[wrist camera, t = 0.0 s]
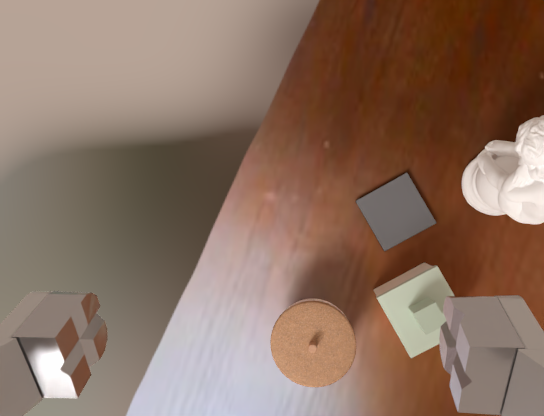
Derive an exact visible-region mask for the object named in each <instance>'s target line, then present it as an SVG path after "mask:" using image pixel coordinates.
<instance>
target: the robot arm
mask: <svg viewBox="0 0 544 416" xmlns="http://www.w3.org/2000/svg"><path fill="white" fill-rule="evenodd" d="M99 308H100V304H99V302H98V298H97V296H96V295H95V294H93V293H88V292H58V291H54V292H50V291H49V292H47V291H34V292H31V293H28V294H27V295H26V297H25V298H24V299H23V300H22V301H21V302H20V303H19V304H18V305H17V307H15V309H14V310H13V311H12V312H11V313H10V314H9V315H8V316H7V317H6V318H5V319H4V321H3V322H2V323H1V324H0V416H23V415H24V414H26V413H27V412H28V411H30V410H31V409H32V408H33V407H34V406H36V405H37V404H38V403H39V402H40V401H41V400H42V398H78V397H79V395H80V393H81V392H82V390H83V388H84V386H85V385H86V383H87V381H88V379H89V378H90V376H91V372H90V369H89V367H90V366H91V365H93V364H94V363H96V362H97V361H99V360H100V358H101V356H102V354H103V353H104V351H105V347H106V342H107V327H106V324H105V321H104V320H103V319H102V318H101V317H100V316H99V315H98V314H97V311H98V309H99ZM443 313H444V316H445V318H446V322H445V323H444V324H443V325H442V326H441V328H440V337H439V342H440V354H441V359H442V363H443V366H444V369H445V370H446V371H447V372H448V373H449V374H451V379H450V389H451V392H452V396H453V399H454V402H455V405H456V408H457V411H458V412H460V413H476V414H491V415H501V416H544V331H543V330H542V328H541V327H540V325H539V323H538V322H537V320H536V319H535V317H534V315H533V314H532V312H531V311H530V309H529V307H528V306H527V304H526V303H525V301H524V299H523V298H522V297H520V296H519V295H515V296H494V297H492V296H446V299H445V301H444V306H443Z"/></svg>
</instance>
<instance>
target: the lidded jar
mask: <svg viewBox="0 0 544 416" xmlns="http://www.w3.org/2000/svg"><path fill="white" fill-rule="evenodd" d="M271 352H272V356H273V358H274V361H275V363H276V365H277V367H278V368H279V369H280V371H281V372H282V373H283V374H284V375H285V376H286V377H287V378H289V379H290V380H291V381H293V382H295V383H297V384H300V385H303V386H307V387H322V386H326V385H330V384H332V383H334V382H336V381H337V380H339V379H340V378H342V377H343V376H344V375H345V374H346V373H347V371H348V370H349V368H350V367H351V365H352V363H353V360H354V357H355V353H356V339H355V334H354V331H353V328H352V326H351V324H350V322H349V320H348V319H347V317H346V316H345V315H344V313H343V312H342V311H341V310H340V309H339V308H338V307H336V306H335V305H333V304H332V303H330V302H328V301H325V300H322V299H316V298H310V299H304V300H301V301H298V302H296V303H294V304H292V305H291V306H289V307H288V308H287V309H286V310H285V311H284V312H283V313H282V314H281V315H280V317H279V318H278V320H277V321H276V323H275V325H274V327H273V331H272V334H271Z"/></svg>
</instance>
